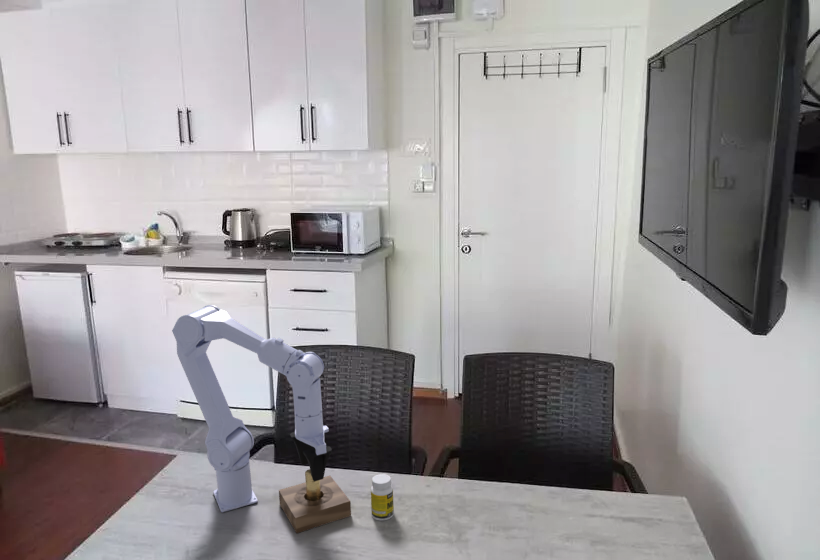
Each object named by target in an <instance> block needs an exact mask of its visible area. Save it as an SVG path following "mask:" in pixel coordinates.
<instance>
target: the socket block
mask: <svg viewBox="0 0 820 560" xmlns="http://www.w3.org/2000/svg"><path fill="white" fill-rule="evenodd" d="M320 492H321V499H319V500H316V501H308V500H307V495H306V481H305V482H303V483H302V482H301V483H299V484H294V485H292V486H289V487H288V486H287V487H284V488H280V489H278V498H279V506H280V507H281V509H282V510H283V512H285V513H284V514H285V517H286V518H287V519H289V520H288V522H289V523H290V524H291V527H292V528H293V530H294V532H295V534H299V533H302V532H305V531H309V530H311V529H312V530H313V529H315V528H317V527H321V526H325V525H328V524H330V523H333V522H337V521H339V520H343V519H347V518H349V517H351V516H352V507H351V505H352V504H351V500H350V499H349V497H348V496H347V495H346V493H345V492H344V491H343V490H342V488H341V487H340V486H339V484H338V483H337V482H336V480H335V479H334V478H333V476H331V475H327V476H324V478H323V479H321V480H320ZM314 527H315V528H314Z"/></svg>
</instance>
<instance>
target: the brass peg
mask: <svg viewBox="0 0 820 560" xmlns="http://www.w3.org/2000/svg"><path fill="white" fill-rule="evenodd" d="M304 476H305V482H306V495H307V500H308V501H316V500H319V499H321V492H320V480H318V481H314V480H313V479H312V476H311V471H310V468H309V469H307V470H306V471H305V472H304Z"/></svg>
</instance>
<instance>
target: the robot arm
mask: <svg viewBox="0 0 820 560" xmlns="http://www.w3.org/2000/svg"><path fill="white" fill-rule="evenodd" d="M171 333H172V335H173V336H174V339H175V341H176V354H177V357H178V360H179V361H180V365H181V367H182V369H183V371H184V373H185V376H186V378H187V381H188V383H189V385H190V387H191V390H192V392H193V395H194V397H195V399H196V401H197V403H198V407H199V409H200V410H201V414H202V415H203V417H204V420H205V423H206V425H207V427H208V430H207V434H206V437H205V441H204V445H205V447H206V450H207V451H206V452H207V453H206V456H207V460H208V462H209V464H210V465H211V466H212V468H214V470H215V474H216V477H215V478H216V487H217V488H216V489H214V490H213V495H214V498H215V499H216V500H215V501H216V504H217V506H218V508H219V510H220V511H219V512H221V513H225V512H229V511H232V510H236V509H239V508H242V507H246V506H250V505H253V504H256V503H258V501H259V500H258V497H257V496H256V494H255V492H254V490H253V485H252V474H251V463H250V456H251V454H250V451H251V450H252V449H253V447H254V443H255V442H254V441H255V439H254V436H253V434H252V432H251V431H250V430H249V429H248V428H247V427H246V425H245V424H244V421H243V420H242V419H240V418H238V417H234V416H233V413H232V411H231V409H230V406H229V403H228V402H227V399H226V396H225V395H224V392H223V390H222V388H221V385H220V383H219V380H218V378H217V376H216V373H215V371H214V368H213V367H212V363H211V361H210V359H209V356H208V354H207V350H208V349H209V346H210V344H211V342H212V341H216V340H222V339H224V340H227V341H229V342H231V343H232V344H235V345H237V346H239V347H242V348H244V349H246V350H248V351H250V352H253V353H255V354H257V357H258V361H259V362H260V363H261V364H263V365H265V366H267V367H269V368H271V369H273V370H274V371H276V372H278V373H280V374H281V375H284V376H285V377H286V379H287V382H288V383H289V385H290V386H291V388H292V396H293V398H292V399H293V411H294V431H293V432H291V433H290V434H289V436H290V437H291V439H292V441H293V443H294V445H295V448H296V451H297V454H298V457H299V461H300V464H301V465H302V466H306V465H307V464H308V466H309V469H310V471H311V476H312V479H313V480H314V481H318V480H321V479H323V478H324V477H325V473H326V472H325V471H326V468H327V467H326V466H327V463H328V460H329V458H330V456H331V454H332V453H333V449H332V447H331V446H330V445H327V443H326V442H325V433H328V432H330V431H329V427H328V426H327V425H324V420H323V403H322V402H323V401H322V400H323V399H322V388H321V386H322V385H321V378H320V377H321V375H322V374H323V372H324V370H325V364H324V362H323V359H322V358H321V357H320V356H319V355H317V353H316V352H314V351H306V352H304V351H303V350H302V349H296V348H294V347H293V346H291V345H289V344H287V343H285V342H284V341H285V340H284V339H283V338H280V337H278V338H276V337H269V338H264V337H263V336H261V335H259V334H258V333H256V332H255V331H253V330H252V329H249V327H247V326H245V325H244V324H242V323H240V321H237V320H235V319H234V318H233V317H232V316H230V314H229V312H228V311H226V310H223V309H221V308H219V307H218V306H217V305H213V304H208V305H205V306H203V307H202V308H199V309H197V310H195V311H192V312H190V313H187V314H184V315H181V316H180V317H179V318H177V320H176V322H175V324H174V326H173V328H172V330H171Z"/></svg>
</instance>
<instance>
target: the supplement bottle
mask: <svg viewBox="0 0 820 560" xmlns="http://www.w3.org/2000/svg"><path fill="white" fill-rule="evenodd" d="M371 479H372V480H371V487H370V508H371V517H372V518H373V519H374V520H377V521H381V522H382V521H388V520H391V518H392V517H393V516H394V488H393V485H392V478H391V476H390V475H388V474H386V473H379V474H375V475H374V476H372V477H371Z"/></svg>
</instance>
